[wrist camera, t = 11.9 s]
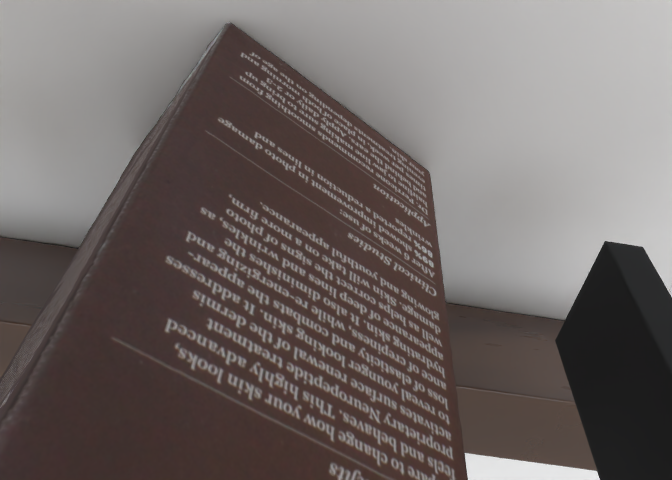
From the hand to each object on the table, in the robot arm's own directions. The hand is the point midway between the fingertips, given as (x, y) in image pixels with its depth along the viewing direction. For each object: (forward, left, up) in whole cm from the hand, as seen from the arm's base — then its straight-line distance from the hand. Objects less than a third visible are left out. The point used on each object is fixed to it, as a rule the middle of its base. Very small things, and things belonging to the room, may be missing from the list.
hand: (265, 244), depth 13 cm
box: (0, 0, -4) cm, 4 cm away
